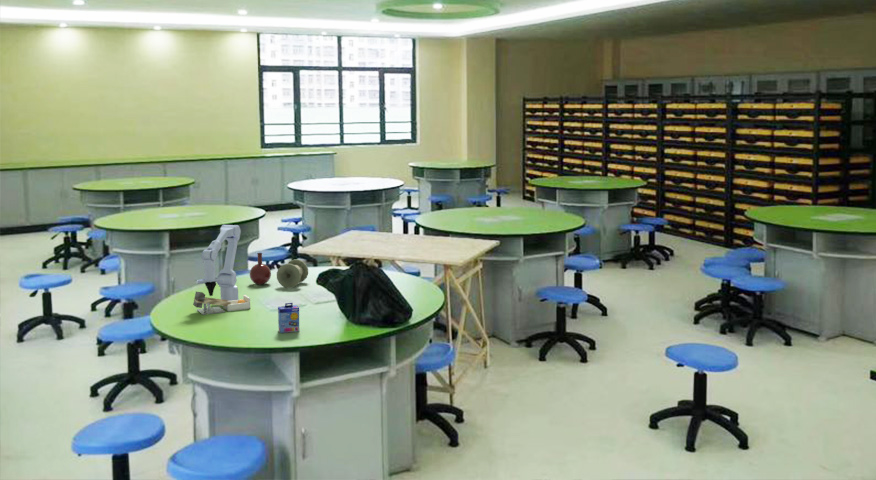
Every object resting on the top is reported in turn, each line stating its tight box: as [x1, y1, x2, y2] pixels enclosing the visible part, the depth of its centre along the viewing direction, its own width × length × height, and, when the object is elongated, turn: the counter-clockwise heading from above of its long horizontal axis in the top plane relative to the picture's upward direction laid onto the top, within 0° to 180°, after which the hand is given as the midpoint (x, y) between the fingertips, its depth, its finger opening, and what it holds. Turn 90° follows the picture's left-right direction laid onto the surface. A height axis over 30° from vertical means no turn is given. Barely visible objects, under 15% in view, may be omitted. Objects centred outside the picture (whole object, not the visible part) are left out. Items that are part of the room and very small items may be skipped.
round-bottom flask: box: [249, 252, 272, 286], centre depth 478 cm, size 13×13×20 cm
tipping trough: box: [192, 291, 231, 309], centre depth 412 cm, size 18×12×7 cm, turn 121°
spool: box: [276, 259, 309, 289], centre depth 476 cm, size 16×15×15 cm
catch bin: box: [222, 294, 251, 312], centre depth 417 cm, size 12×10×6 cm
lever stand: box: [196, 303, 226, 316], centre depth 410 cm, size 12×12×6 cm
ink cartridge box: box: [277, 302, 300, 334], centre depth 371 cm, size 10×6×14 cm, turn 112°
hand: (211, 295), depth 416 cm, fingers closed
